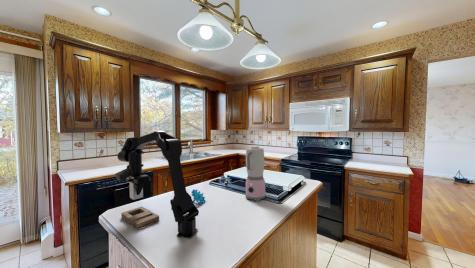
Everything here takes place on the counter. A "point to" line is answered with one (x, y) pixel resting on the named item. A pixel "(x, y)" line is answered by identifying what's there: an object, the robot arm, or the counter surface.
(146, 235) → the counter surface
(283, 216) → the counter surface
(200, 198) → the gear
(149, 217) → the socket block
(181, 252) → the counter surface
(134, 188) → the square bit
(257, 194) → the blender
